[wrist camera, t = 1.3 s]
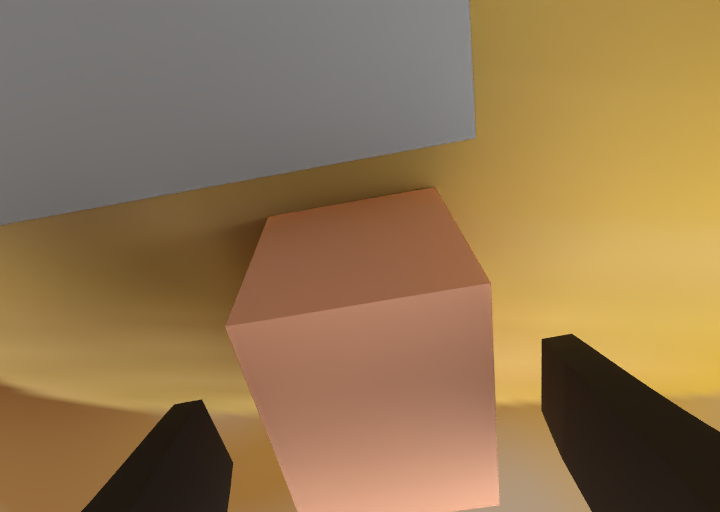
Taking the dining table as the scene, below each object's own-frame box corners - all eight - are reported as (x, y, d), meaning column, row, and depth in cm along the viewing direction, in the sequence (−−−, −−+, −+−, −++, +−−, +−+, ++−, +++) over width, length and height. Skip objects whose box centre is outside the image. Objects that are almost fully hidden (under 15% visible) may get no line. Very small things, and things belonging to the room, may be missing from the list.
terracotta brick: (434, 186, 12) (490, 282, 7) (450, 358, 14) (499, 505, 10) (269, 215, 12) (224, 326, 7) (316, 379, 15) (306, 532, 10)
